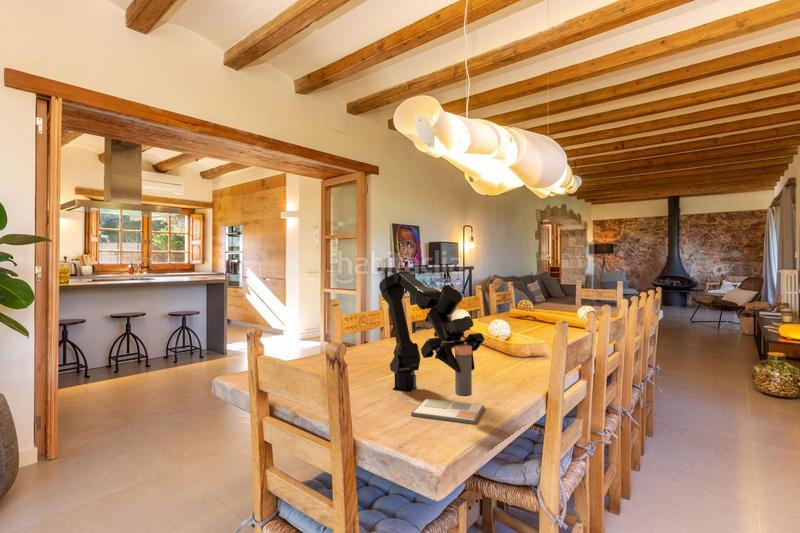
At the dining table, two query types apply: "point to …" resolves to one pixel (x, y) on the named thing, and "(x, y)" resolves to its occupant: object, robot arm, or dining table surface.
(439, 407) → the picture board
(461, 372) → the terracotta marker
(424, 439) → the dining table surface
